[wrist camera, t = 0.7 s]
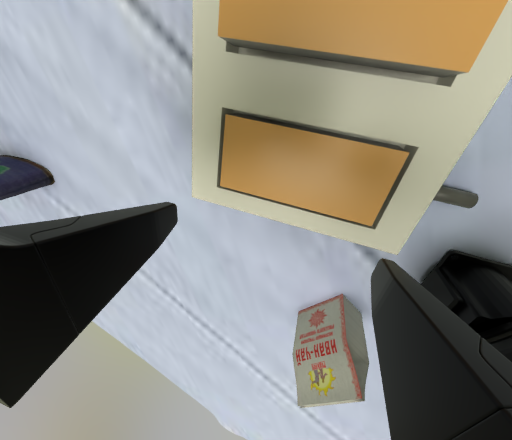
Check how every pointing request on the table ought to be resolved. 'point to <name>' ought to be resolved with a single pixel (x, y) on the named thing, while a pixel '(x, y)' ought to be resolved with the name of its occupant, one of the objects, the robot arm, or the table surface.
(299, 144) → the orange cabinet drawer
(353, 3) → the orange drawer
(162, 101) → the table surface
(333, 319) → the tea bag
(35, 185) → the flask
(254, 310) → the table surface
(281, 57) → the cream board with panels
